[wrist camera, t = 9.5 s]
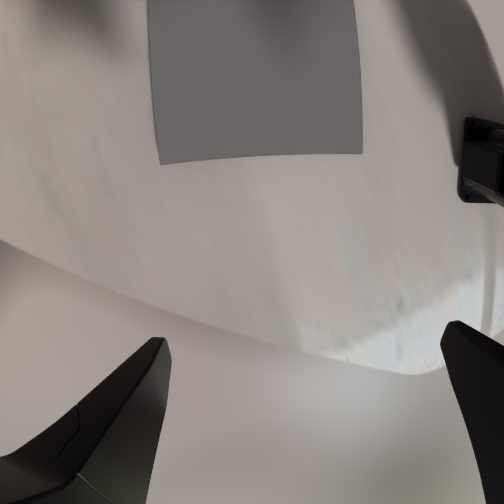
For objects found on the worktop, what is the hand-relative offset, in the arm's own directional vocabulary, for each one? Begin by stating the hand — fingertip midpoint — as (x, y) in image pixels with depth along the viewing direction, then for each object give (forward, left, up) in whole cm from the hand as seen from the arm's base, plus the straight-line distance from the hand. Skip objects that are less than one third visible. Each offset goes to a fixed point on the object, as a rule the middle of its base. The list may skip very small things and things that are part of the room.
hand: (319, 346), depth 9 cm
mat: (+1, -10, -12) cm, 16 cm away
